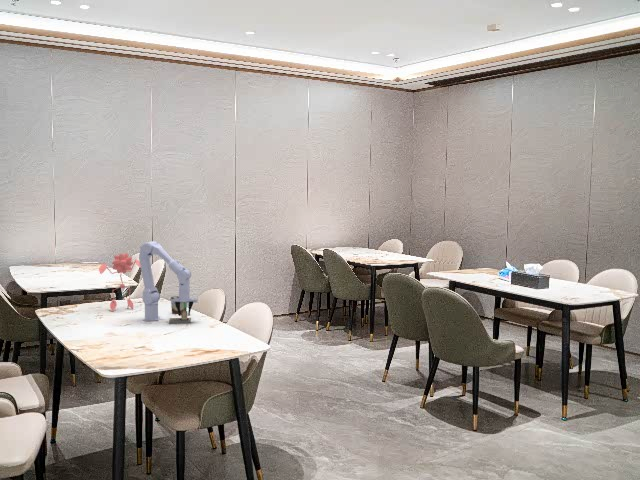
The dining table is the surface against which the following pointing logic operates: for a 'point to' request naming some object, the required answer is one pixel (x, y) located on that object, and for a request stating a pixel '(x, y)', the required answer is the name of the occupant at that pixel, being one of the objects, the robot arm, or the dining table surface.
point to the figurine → (121, 265)
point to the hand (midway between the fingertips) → (184, 315)
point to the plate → (179, 321)
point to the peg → (183, 315)
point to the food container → (174, 309)
